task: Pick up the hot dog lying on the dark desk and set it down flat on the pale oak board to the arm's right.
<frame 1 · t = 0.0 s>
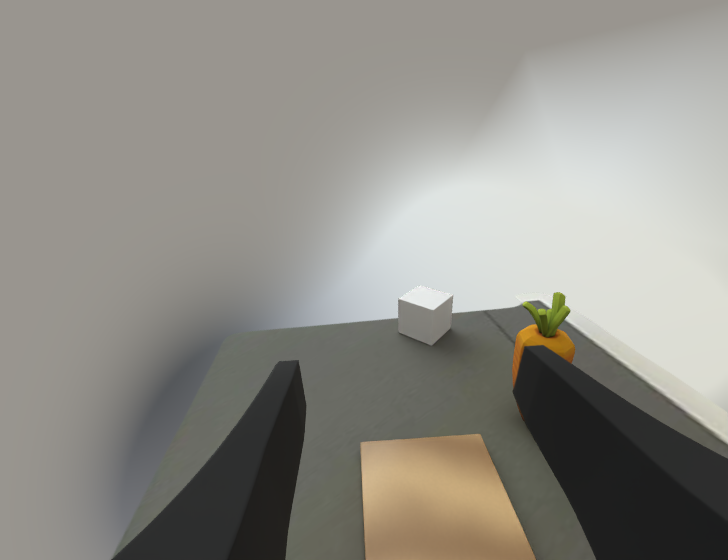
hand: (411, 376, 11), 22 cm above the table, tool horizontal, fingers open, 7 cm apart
white cube: (424, 331, 53), on the table
carrot: (527, 423, 35), on the table
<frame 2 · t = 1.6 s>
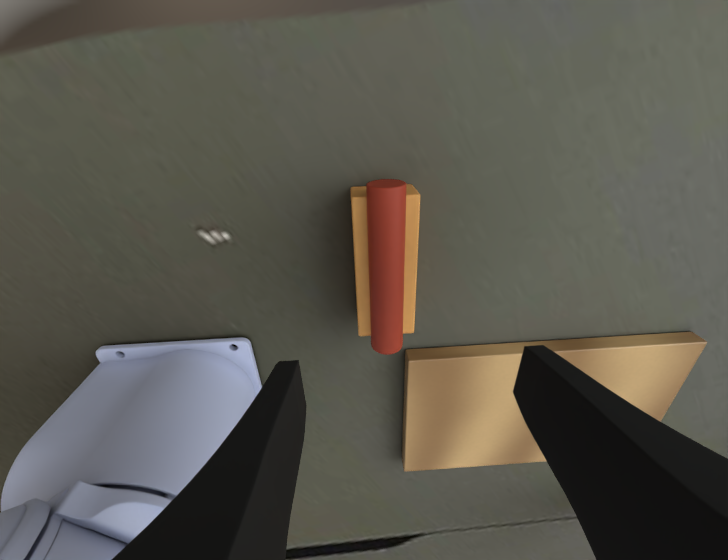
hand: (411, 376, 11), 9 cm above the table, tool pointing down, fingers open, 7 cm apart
oak board: (531, 401, 25), on the table
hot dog: (382, 255, 19), on the table
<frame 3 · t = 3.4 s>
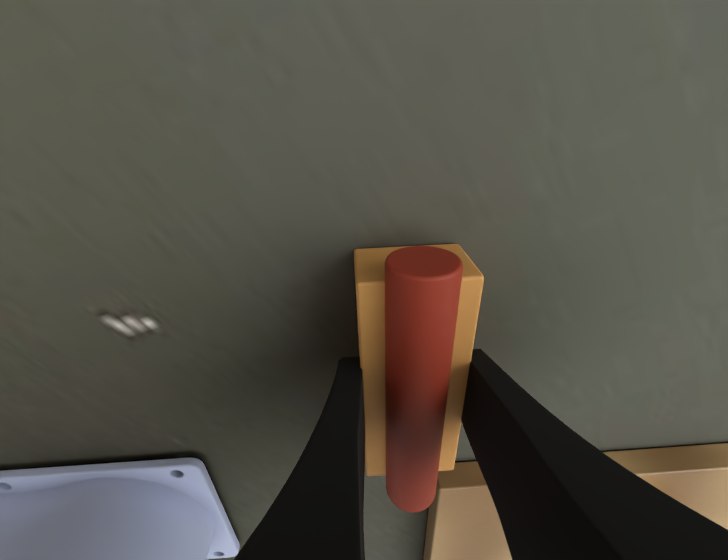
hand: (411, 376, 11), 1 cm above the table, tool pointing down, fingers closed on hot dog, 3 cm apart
oak board: (603, 515, 18), on the table
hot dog: (403, 347, 12), on the table, touching gripper
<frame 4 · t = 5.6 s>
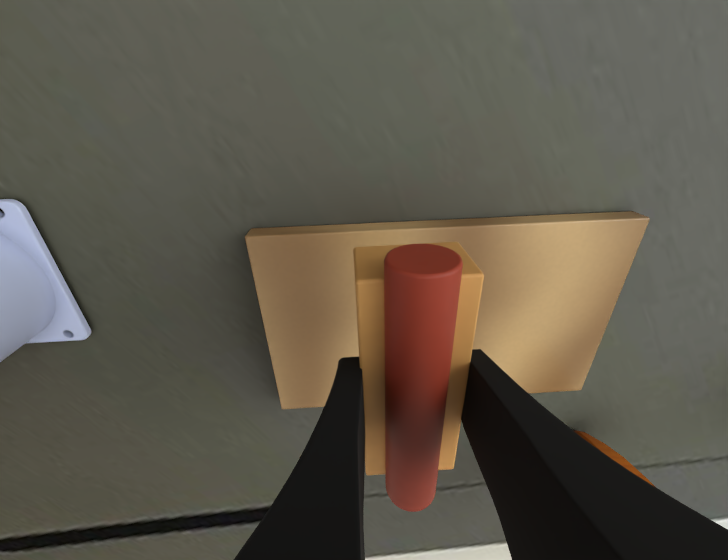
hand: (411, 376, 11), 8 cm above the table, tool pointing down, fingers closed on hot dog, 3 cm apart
carrot: (573, 429, 26), on the table
oak board: (436, 314, 20), on the table
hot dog: (403, 346, 12), point 7 cm above the table, touching gripper
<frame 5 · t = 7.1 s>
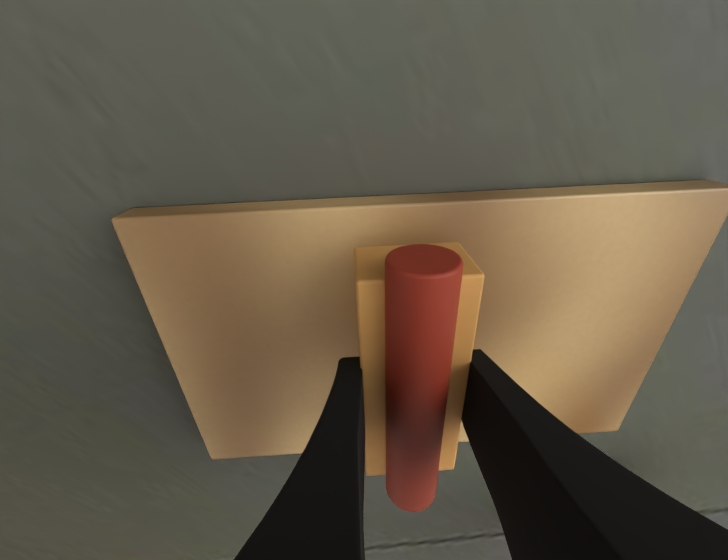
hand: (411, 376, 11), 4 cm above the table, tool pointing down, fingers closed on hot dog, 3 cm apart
oak board: (418, 332, 14), on the table
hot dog: (403, 346, 12), point 2 cm above the table, touching gripper
when the fingers open (3 cm above the table, at t = 7.7 s): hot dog stays where it is, resting on oak board.
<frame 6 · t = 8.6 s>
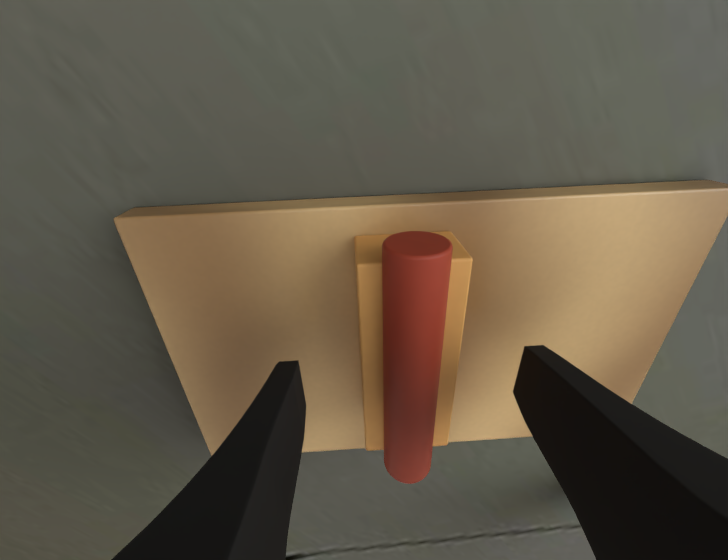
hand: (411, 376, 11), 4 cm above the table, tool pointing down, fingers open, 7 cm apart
oak board: (419, 331, 14), on the table
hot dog: (400, 330, 13), point 1 cm above the table, touching oak board
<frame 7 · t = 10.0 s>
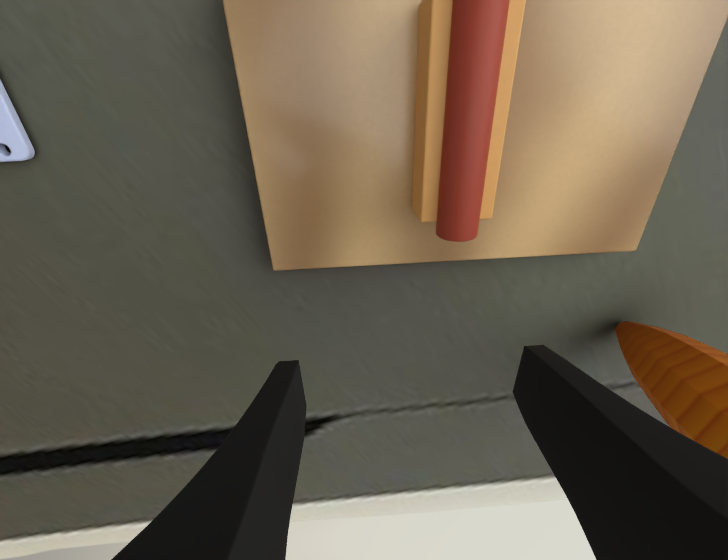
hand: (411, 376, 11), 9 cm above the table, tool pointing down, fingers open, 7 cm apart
carrot: (617, 322, 22), on the table
oak board: (462, 139, 16), on the table
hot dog: (450, 117, 15), point 1 cm above the table, touching oak board
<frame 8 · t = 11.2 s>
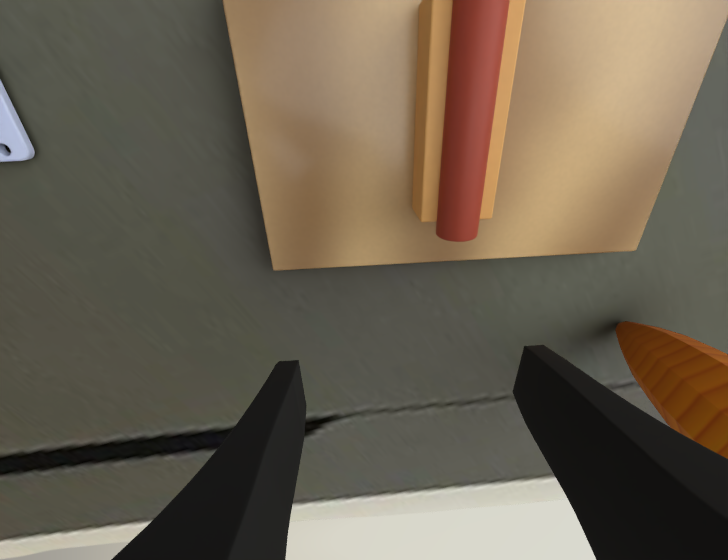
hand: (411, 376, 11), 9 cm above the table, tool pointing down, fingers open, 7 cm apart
carrot: (617, 322, 22), on the table
oak board: (462, 139, 16), on the table
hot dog: (450, 117, 15), point 1 cm above the table, touching oak board
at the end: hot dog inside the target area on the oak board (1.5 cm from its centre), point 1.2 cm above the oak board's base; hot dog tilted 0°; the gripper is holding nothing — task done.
